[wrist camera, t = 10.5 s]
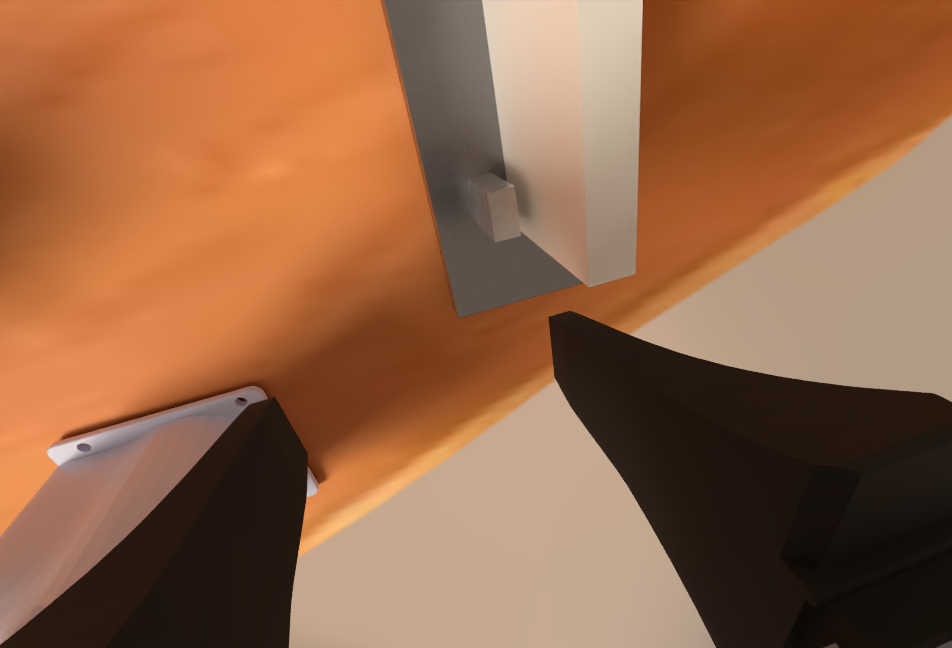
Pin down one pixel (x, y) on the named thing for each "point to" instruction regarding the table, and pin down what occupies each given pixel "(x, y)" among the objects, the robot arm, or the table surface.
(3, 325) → the table surface
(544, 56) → the cabinet door
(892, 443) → the robot arm
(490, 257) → the rail
